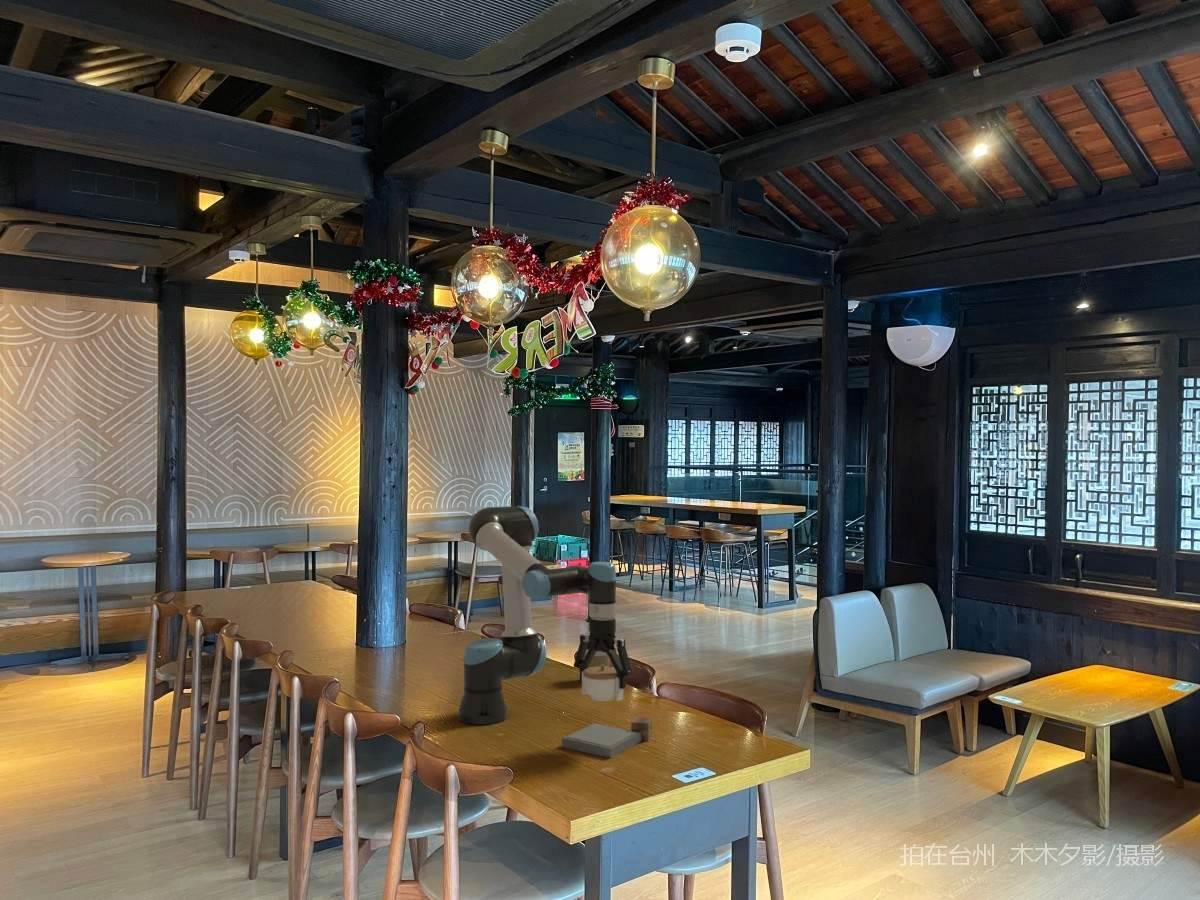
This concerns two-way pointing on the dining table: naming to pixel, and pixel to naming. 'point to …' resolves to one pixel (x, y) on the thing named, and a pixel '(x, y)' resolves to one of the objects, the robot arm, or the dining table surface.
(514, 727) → the dining table surface
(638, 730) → the walnut block
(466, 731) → the dining table surface
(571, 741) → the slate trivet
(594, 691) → the lidded jar
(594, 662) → the coffee cup
